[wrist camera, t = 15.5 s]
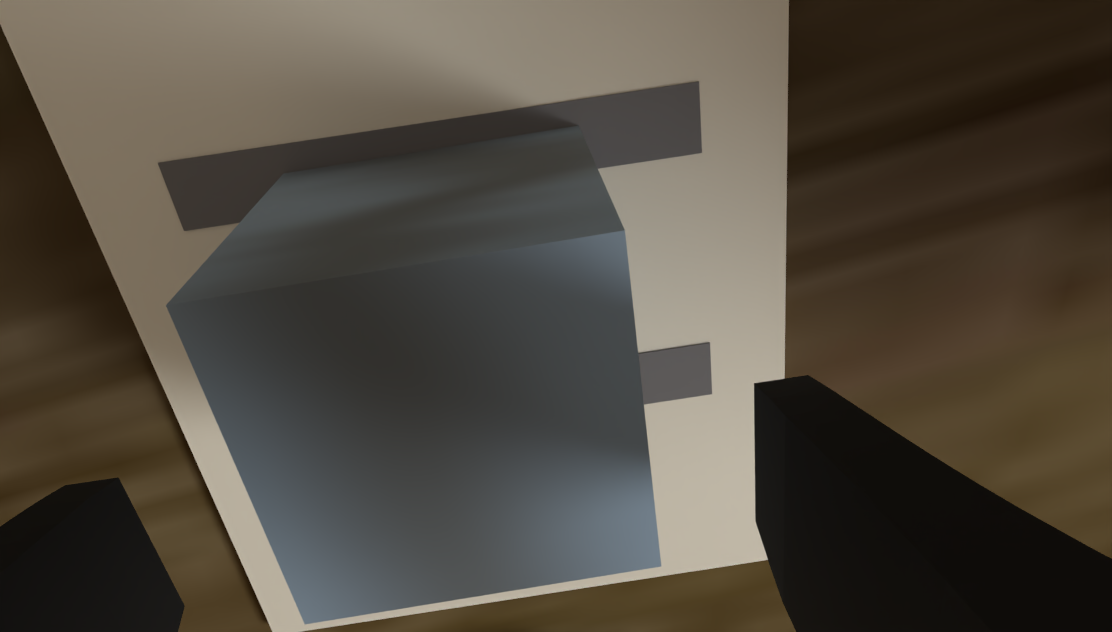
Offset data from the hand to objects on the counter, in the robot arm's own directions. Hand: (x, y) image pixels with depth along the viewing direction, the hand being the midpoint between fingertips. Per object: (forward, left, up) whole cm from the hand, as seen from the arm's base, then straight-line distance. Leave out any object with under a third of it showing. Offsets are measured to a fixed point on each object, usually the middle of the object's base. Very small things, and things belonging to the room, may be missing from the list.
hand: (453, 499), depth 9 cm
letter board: (0, 0, -6) cm, 6 cm away
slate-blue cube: (0, 0, -6) cm, 6 cm away
